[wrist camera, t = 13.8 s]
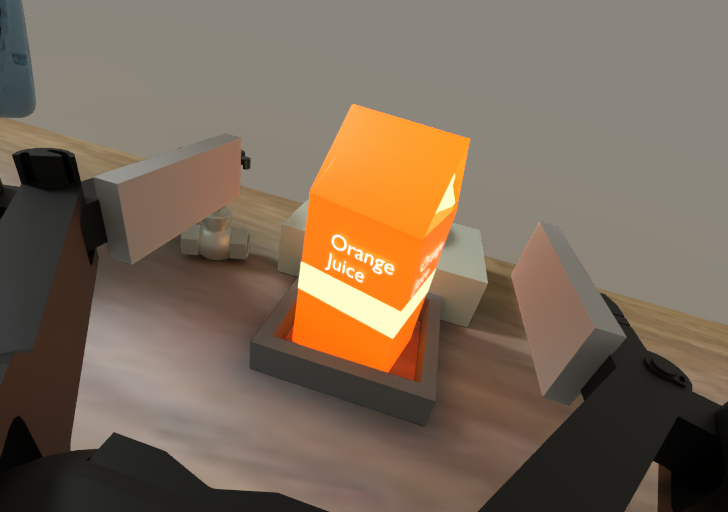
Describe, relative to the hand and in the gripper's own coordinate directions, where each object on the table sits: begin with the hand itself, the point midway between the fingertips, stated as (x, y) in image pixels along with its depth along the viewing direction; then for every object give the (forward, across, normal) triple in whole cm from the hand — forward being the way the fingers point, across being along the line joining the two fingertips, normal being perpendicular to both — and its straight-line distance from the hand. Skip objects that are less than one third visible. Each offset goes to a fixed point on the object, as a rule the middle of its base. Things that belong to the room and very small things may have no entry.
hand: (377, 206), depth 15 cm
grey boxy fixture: (+17, 0, -18) cm, 24 cm away
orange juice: (+10, 0, -18) cm, 21 cm away
